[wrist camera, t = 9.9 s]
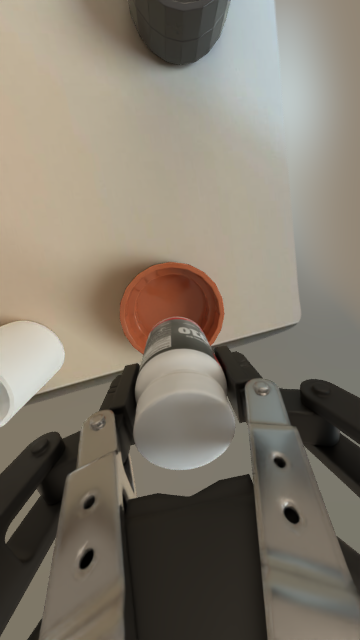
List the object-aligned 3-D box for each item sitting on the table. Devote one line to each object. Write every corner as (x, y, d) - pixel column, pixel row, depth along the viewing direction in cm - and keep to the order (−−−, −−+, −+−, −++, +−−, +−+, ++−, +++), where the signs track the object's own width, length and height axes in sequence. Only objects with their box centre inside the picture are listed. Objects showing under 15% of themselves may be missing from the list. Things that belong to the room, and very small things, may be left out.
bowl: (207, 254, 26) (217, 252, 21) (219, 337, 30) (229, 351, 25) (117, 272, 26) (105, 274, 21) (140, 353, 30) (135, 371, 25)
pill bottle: (216, 343, 15) (270, 432, 7) (174, 378, 16) (183, 493, 8) (177, 302, 14) (193, 356, 6) (134, 342, 15) (97, 437, 7)
